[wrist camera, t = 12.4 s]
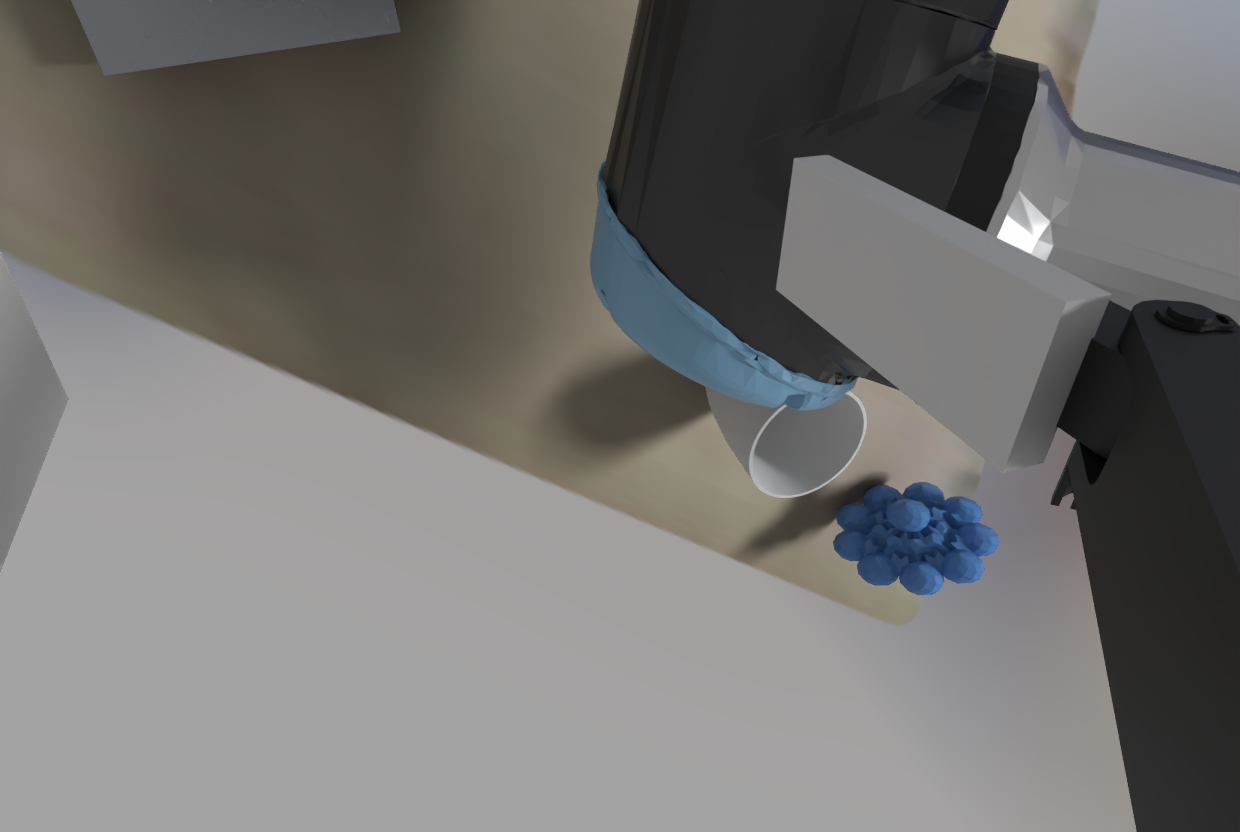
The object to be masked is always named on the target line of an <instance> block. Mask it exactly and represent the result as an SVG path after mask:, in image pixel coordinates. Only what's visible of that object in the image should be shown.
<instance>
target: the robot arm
mask: <svg viewBox="0 0 1240 832" xmlns="http://www.w3.org/2000/svg"><path fill="white" fill-rule="evenodd" d="M1008 1H1009V0H639V4H638V9H637V14H636V19H635V24H634V29H633V34H632V39H631V43H630V48H629V53H628V58H627V63H626V68H625V73H624V78H623V83H622V88H621V93H620V98H619V102H618V107H617V112H616V117H615V122H614V127H613V132H612V136H611V140H610V145H609V149H608V154H607V158H606V161H605V162H603V163H602V165H601V168H600V171H599V175H598V181H597V192H598V198H599V201H598V209H597V216H596V223H595V230H594V237H593V243H592V249H591V257H590V268H591V276H592V281H593V284H594V288H595V290H596V292H597V294H598V296H599V298H600V300H601V302H602V303H603V305H604V306H605V308H606V309H607V310H608V311H609V312H610V313H611V317H612V318H613V320H614V322H615V323H616V324H617V325H618V326H619V327H620V328H621V330H622V331H623V332H624V333H625V334H626V335H627V336H628V337H630V338H631V339H632V340H633V341H634V342H635V343H636V344H638V345H639V346H640V347H641V348H642V349H644V350H645V351H646V352H647V353H649V354H650V355H652V356H653V357H654V358H656V359H657V360H659V361H660V362H662V363H663V364H665V365H666V366H668V367H670V368H671V369H673V370H675V371H677V372H678V373H680V374H682V375H683V376H685V377H687V378H689V379H691V380H693V381H695V382H697V383H699V384H701V385H703V386H705V387H708V388H710V389H712V390H715V391H717V392H719V393H722V394H724V395H727V396H729V397H732V398H735V399H738V400H741V401H744V402H748V403H752V404H756V405H761V406H765V407H770V408H776V407H778V406H780V405H781V404H782V403H783V404H785V405H787V406H788V407H790V408H792V409H794V410H796V411H808V410H818V409H821V408H825V407H828V406H830V405H832V404H833V403H835V402H836V401H838V400H839V399H841V398H842V396H843V395H844V394H845V393H847V392H848V391H850V390H851V389H853V388H854V386H855V384H856V381H857V379H858V377H861V378H866V379H868V380H871V381H874V382H877V383H880V384H883V385H886V386H889V387H892V388H895V389H897V390H901V391H902V392H903V393H904V394H906V395H907V396H908V397H909V398H911V399H912V400H913V401H914V402H915V403H917V404H918V405H919V406H920V407H922V408H923V409H924V410H925V411H927V412H928V413H929V414H930V415H932V416H933V417H934V418H935V419H936V420H938V421H939V422H940V423H941V424H943V425H944V426H945V427H946V428H948V429H949V430H950V431H951V432H953V433H954V434H955V435H956V436H957V437H959V438H960V439H961V440H962V441H964V442H965V443H966V444H967V445H969V446H970V447H971V448H972V449H974V450H975V451H976V452H977V453H978V454H980V455H981V456H982V457H983V458H985V459H986V460H987V461H988V462H990V463H991V464H992V465H993V466H995V467H996V468H997V469H998V470H1000V471H1001V472H1002V473H1006V472H1009V471H1013V470H1017V469H1020V468H1025V467H1029V466H1033V465H1036V464H1040V463H1043V462H1044V460H1045V458H1046V455H1047V453H1048V450H1049V448H1050V445H1051V443H1052V440H1053V438H1054V435H1055V433H1056V430H1057V428H1058V427H1059V428H1060V429H1062V430H1063V431H1065V432H1066V433H1068V434H1069V435H1071V436H1072V437H1074V438H1075V439H1076V442H1075V444H1074V446H1073V449H1072V451H1071V454H1070V456H1069V458H1068V461H1067V463H1066V465H1065V468H1064V470H1063V472H1062V475H1061V477H1060V479H1059V482H1058V484H1057V486H1056V489H1055V491H1054V494H1053V496H1052V500H1051V504H1052V505H1056V506H1059V504H1060V502H1061V500H1062V497H1064V496H1066V495H1068V494H1070V493H1073V495H1074V501H1073V503H1072V505H1071V509H1075V510H1076V511H1077V516H1078V521H1079V527H1080V532H1081V537H1082V542H1083V548H1084V553H1085V559H1086V564H1087V569H1088V575H1089V580H1090V585H1091V591H1092V595H1093V601H1094V607H1095V612H1096V617H1097V622H1098V627H1099V633H1100V639H1101V644H1102V648H1103V654H1104V659H1105V665H1106V670H1107V676H1108V681H1109V686H1110V692H1111V697H1112V702H1113V708H1114V713H1115V718H1116V724H1117V728H1118V734H1119V740H1120V745H1121V750H1122V756H1123V761H1124V766H1125V771H1126V777H1127V782H1128V787H1129V793H1130V798H1131V803H1132V809H1133V814H1134V819H1135V825H1136V830H1137V832H1240V172H1238V171H1235V170H1231V169H1227V168H1223V167H1219V166H1216V165H1211V164H1207V163H1204V162H1200V161H1197V160H1193V159H1189V158H1185V157H1181V156H1178V155H1174V154H1170V153H1166V152H1162V151H1159V150H1155V149H1151V148H1147V147H1144V146H1139V145H1136V144H1132V143H1129V142H1124V141H1121V140H1117V139H1113V138H1110V137H1106V136H1102V135H1098V134H1094V133H1091V132H1087V131H1084V130H1082V129H1081V128H1079V127H1078V126H1077V125H1076V124H1075V123H1074V122H1073V120H1072V119H1071V118H1070V115H1069V113H1068V111H1067V109H1066V106H1065V104H1064V102H1063V99H1062V97H1061V95H1060V92H1059V90H1058V88H1057V86H1056V83H1055V81H1054V79H1053V76H1052V74H1051V72H1050V69H1049V68H1048V67H1047V66H1046V65H1043V64H1040V63H1035V62H1031V61H1027V60H1023V59H1019V58H1015V57H1011V56H1007V55H1003V54H999V53H996V52H994V51H993V50H992V49H991V47H990V45H991V42H992V40H993V37H994V34H995V30H997V27H998V25H999V22H1000V20H1001V18H1002V15H1003V13H1004V11H1005V8H1006V6H1007V3H1008ZM67 401H68V397H67V395H66V393H65V391H64V389H63V386H62V384H61V382H60V380H59V377H58V375H57V373H56V371H55V369H54V367H53V364H52V362H51V360H50V358H49V356H48V354H47V351H46V349H45V347H44V345H43V343H42V340H41V338H40V336H39V334H38V332H37V330H36V327H35V325H34V323H33V321H32V319H31V317H30V315H29V312H28V310H27V308H26V306H25V304H24V301H23V299H22V297H21V295H20V293H19V291H18V288H17V286H16V284H15V282H14V280H13V278H12V275H11V273H10V271H9V269H8V267H7V264H6V263H5V260H4V258H3V256H2V254H1V251H0V571H1V569H2V566H3V564H4V561H5V558H6V556H7V553H8V551H9V548H10V546H11V543H12V541H13V538H14V536H15V533H16V531H17V528H18V526H19V523H20V521H21V518H22V515H23V513H24V510H25V508H26V505H27V503H28V500H29V498H30V495H31V492H32V490H33V488H34V485H35V482H36V480H37V477H38V475H39V472H40V470H41V467H42V465H43V462H44V460H45V457H46V455H47V452H48V450H49V447H50V444H51V442H52V439H53V437H54V434H55V432H56V429H57V427H58V424H59V422H60V419H61V417H62V414H63V412H64V409H65V407H66V404H67Z"/></svg>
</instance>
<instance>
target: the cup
mask: <svg viewBox="0 0 1240 832" xmlns="http://www.w3.org/2000/svg"><path fill="white" fill-rule="evenodd" d="M705 390H706V394H707V398H708V402H709V406H710V408H711V410H712V412H713V414H714V417H715V419H716V421H717V423H718V425H719V427H720V429H721V431H722V433H723V435H724V437H725V440H726V442H727V443H728V445H729V446H730V448H731V449H732V451H733V452H734V454H735V455H736V457H737V458H738V460H739V461H740V463H741V464H742V466H743V467H744V469H745V470H746V472H747V473H748V475H749V476H750V478H751V479H752V480H753V482H754V483H755V485H756V486H757V487H758V488H759V489H760V490H761V491H762V492H764V493H766V494H768V495H770V496H773V497H779V498H792V497H798V496H802V495H805V494H808V493H811V492H813V491H815V490H817V489H819V488H821V487H823V486H824V485H826V484H827V483H829V482H830V481H832V480H833V479H834V478H835V477H837V476H838V475H839V474H840V473H841V472H842V471H843V470H844V469H845V468H846V467H847V466H848V465H849V463H850V462H851V461H852V459H853V458H854V457H855V455H856V453H857V452H858V450H859V448H860V446H861V444H862V441H863V439H864V435H865V431H866V424H867V419H866V412H865V409H864V406H863V404H862V403H861V401H860V400H859V399H858V397H856V396H855V395H854V394H853V393H851V392H850V391H848V392H847V393H845V394H844V395H843V396H842V398H841V399H839V400H838V401H836V402H835V403H833V404H832V405H830V406H828V407H825V408H821V409H818V410H808V411H796V410H794V409H792V408H790V407H788V406H787V405H785V404H783V403H782V404H781V405H780V406H778V407H776V408H770V407H765V406H761V405H756V404H752V403H748V402H744V401H741V400H738V399H735V398H732V397H729V396H727V395H724V394H722V393H719V392H717V391H715V390H712V389H710V388H708V387H705Z"/></svg>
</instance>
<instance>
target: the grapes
mask: <svg viewBox="0 0 1240 832" xmlns="http://www.w3.org/2000/svg"><path fill="white" fill-rule="evenodd" d="M863 500H864V505H862V504H860V503H851V504H847V505H845V506H844V507H842V508H841V509H839V511H838V513H837V515H836V518H837V523H838V524H839V525H840V526H841V527H842V529H844V531H842V532H841V533H839V534H838V535H837V536H836V537H835V539H834V541H833V545H834V550H835V551H836V552H837V553H838V554H839V555H840V556H841V557H842V558H844V559H847V560H849V561H859V562H858V564H857V569H858V574H859V575H860V576H861V577H862V578H863V579H864V580H865V581H866V582H868V583H870V584H873V585H889V584H891V583H893V582H895V581H896V580H897V578H898V576H899V579H900V583H901V584H902V585H903V586H904V587H905V588H906V589H907V590H908V591H910V592H912V593H914V594H917V595H932V594H934V593H936V592H938V591H939V590H940V589H941V587H942V585H943V583H944V577H943V575H944V576H945V577H946V578H947V579H949V580H951V581H953V582H956V583H973V582H975V581H976V580H978V579H980V577H981V575H982V573H983V572H984V570H985V569H984V565H983V561H982V560H981V559H980V558H979V557H978V556H988V555H990V554H991V553H993V552H994V551H995V550H996V548H997V546H998V544H999V539H998V535H997V534H996V533H995V532H994V531H993V530H992V529H991V528H990V527H987V526H985V525H982V524H980V523H979V521H980V519H981V517H982V510H981V507H980V506H979V505H978V504H977V503H976V502H975V501H973V500H970V499H968V498H965V497H950V498H948V499H947V500H945V499H944V494H943V492H942V491H941V490H940V489H939V488H938V487H937V486H934V485H932V484H929V483H926V482H919V483H914V484H912V485H910V486H909V487H907V488H906V489H905V491H904V493H903V495H901V493H900V492H899V491H898V490H897V489H894V488H892V487H889V486H887V485H878V486H874V487H872V488H871V489H869V490H868V491H866V493H865V495H864V497H863Z"/></svg>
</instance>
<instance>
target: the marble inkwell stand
mask: <svg viewBox="0 0 1240 832" xmlns="http://www.w3.org/2000/svg"><path fill="white" fill-rule="evenodd" d="M71 2H72V4H73V7H74V9H75V11H76V13H77V16H78V18H79V20H80V22H81V25H82V27H83V29H84V31H85V34H86V36H87V38H88V41H89V43H90V45H91V47H92V50H93V52H94V54H95V56H96V59H97V61H98V63H99V65H100V68H101V70H102V72H103V74H104V76H109V75H115V74H122V73H129V72H136V71H143V70H149V69H156V68H163V67H170V66H176V65H183V64H190V63H197V62H203V61H210V60H217V59H224V58H231V57H237V56H244V55H251V54H258V53H264V52H271V51H278V50H285V49H292V48H298V47H305V46H312V45H319V44H325V43H332V42H339V41H346V40H353V39H359V38H366V37H373V36H380V35H386V34H393V33H400V32H401V30H400V25H399V21H398V16H397V12H396V8H395V3H394V0H71Z"/></svg>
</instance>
